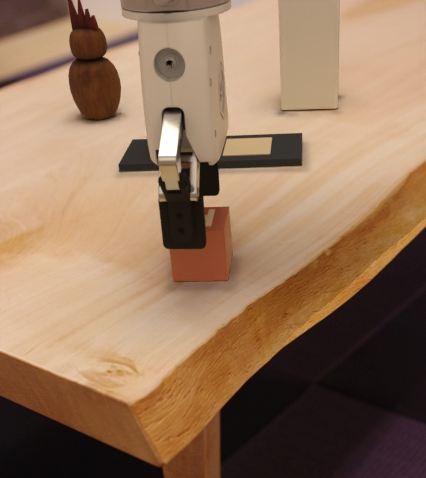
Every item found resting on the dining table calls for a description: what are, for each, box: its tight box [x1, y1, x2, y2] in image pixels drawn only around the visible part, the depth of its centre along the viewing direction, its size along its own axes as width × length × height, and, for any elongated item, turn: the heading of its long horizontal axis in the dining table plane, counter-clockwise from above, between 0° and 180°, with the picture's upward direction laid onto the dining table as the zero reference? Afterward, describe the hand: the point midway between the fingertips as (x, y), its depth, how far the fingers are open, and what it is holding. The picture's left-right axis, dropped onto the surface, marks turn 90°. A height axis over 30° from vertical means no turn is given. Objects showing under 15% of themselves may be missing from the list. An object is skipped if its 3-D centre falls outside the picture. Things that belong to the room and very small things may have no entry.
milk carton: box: [277, 0, 341, 111], centre depth 92 cm, size 7×7×19 cm
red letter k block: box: [168, 206, 233, 282], centre depth 61 cm, size 4×4×5 cm
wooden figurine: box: [67, 0, 122, 120], centre depth 95 cm, size 7×6×15 cm
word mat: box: [118, 132, 303, 172], centre depth 84 cm, size 20×8×1 cm, turn 84°
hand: (193, 219), depth 59 cm, fingers open, 9 cm apart
